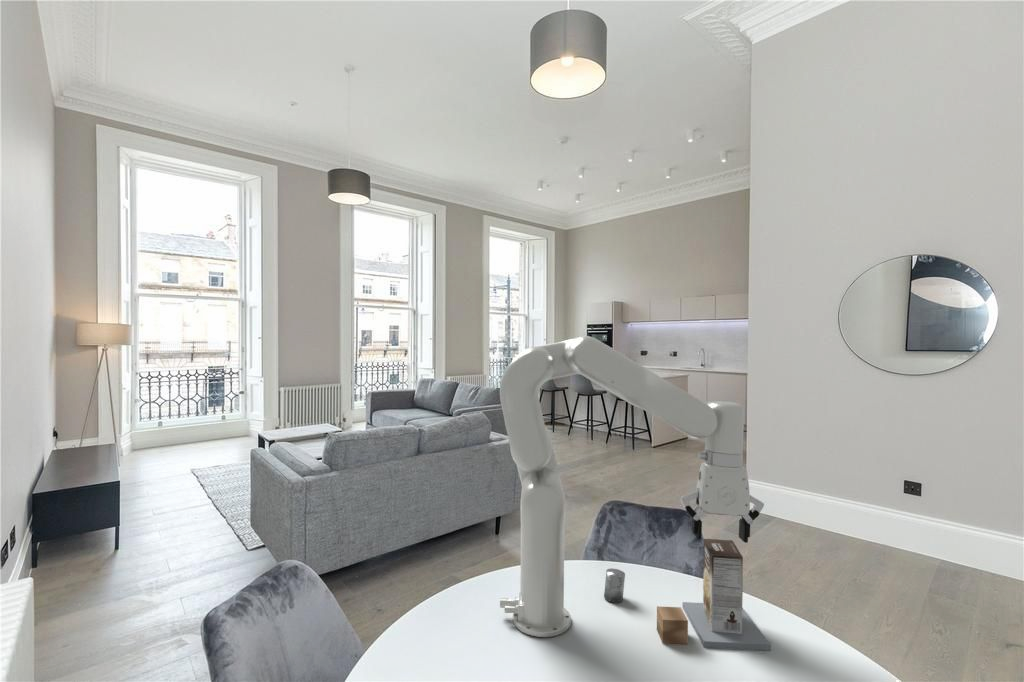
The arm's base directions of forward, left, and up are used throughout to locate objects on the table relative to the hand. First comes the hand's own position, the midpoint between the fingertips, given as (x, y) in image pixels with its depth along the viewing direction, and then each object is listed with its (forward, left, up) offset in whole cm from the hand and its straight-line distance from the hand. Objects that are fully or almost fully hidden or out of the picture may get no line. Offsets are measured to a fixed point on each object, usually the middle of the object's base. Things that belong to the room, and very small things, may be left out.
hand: (720, 538), depth 104 cm
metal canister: (-21, +10, -19) cm, 30 cm away
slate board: (+1, 0, -19) cm, 19 cm away
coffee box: (0, 0, -18) cm, 18 cm away
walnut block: (-11, -4, -19) cm, 23 cm away
